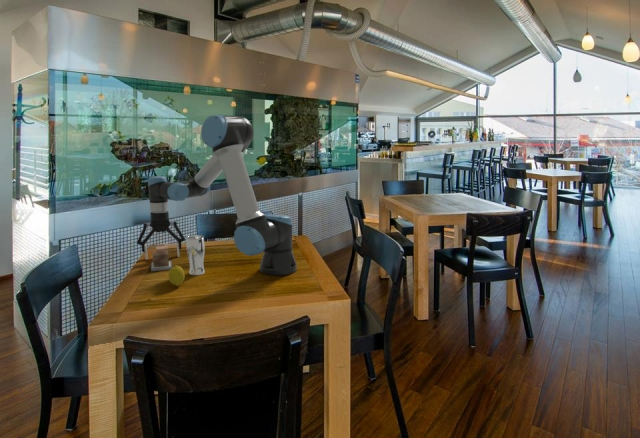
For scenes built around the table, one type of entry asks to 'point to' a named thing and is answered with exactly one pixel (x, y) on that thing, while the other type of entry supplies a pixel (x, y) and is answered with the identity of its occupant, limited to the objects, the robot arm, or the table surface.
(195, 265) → the beer glass
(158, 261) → the walnut block
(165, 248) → the terracotta cube
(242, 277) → the table surface
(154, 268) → the slate picture frame
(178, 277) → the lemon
